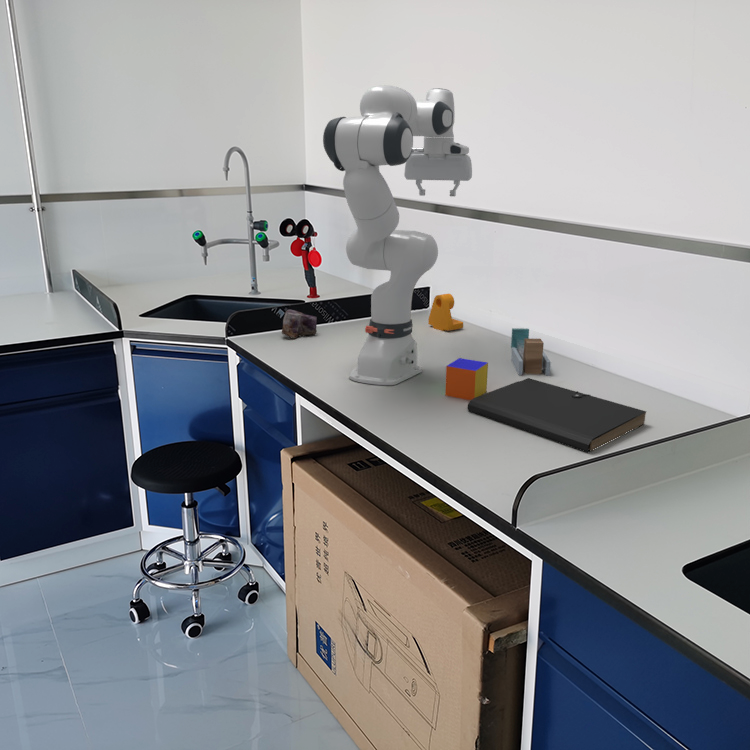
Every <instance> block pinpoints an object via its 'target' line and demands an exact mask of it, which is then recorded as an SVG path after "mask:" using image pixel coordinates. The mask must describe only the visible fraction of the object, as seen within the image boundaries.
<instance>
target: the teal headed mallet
mask: <svg viewBox="0 0 750 750" xmlns="http://www.w3.org/2000/svg"><path fill="white" fill-rule="evenodd" d="M529 334H530V328H524V327H523V328H517V327H516V328H515V327H514V328H513V327H512V328H511V339H510V340H511V341H510V348H511V349H512V347H515V348H516V349H517V351H518V353H519V355H520V357H521V358H522V360H523V353H524V338H527V339H530V337H529V336H530V335H529Z"/></svg>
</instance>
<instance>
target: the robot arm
mask: <svg viewBox="0 0 750 750" xmlns="http://www.w3.org/2000/svg"><path fill="white" fill-rule="evenodd" d="M359 112H360V116H348V117H346V116H340V117H335V118H332V119H331V120H329V121H327V123H326V126H325V128H324V130H323V135H322V136H323V137H322V143H323V148H324V151H325V153H326V155H327V157H328V159H329V160H330V161H331V162H332V163H333V165H334V167H335V168H336V169H337V170H338V171H341V172H345V173H344V176H343V181H342V187H343V191H344V196H345V200H346V203H347V205H348V208H349V210H350V213H351V215H352V217H353V219H354V221H355V224H356V227H357V229H356V230H354V231H353V232H352V233H351V234H350V235H349V237H348V238H347V241H346V245H345V251H346V256H347V259H348V261H350V264H352V265H353V266H357V267H359V268H363V269H367V270H375V271H376V270H377V271H389V272H390V277H389V280H388V281H385V282H383V283H382V284H379V285H378V286H376V287H375V288H374V289H373V291H372V293H371V296H370V299H371V300H370V305H371V307H370V312H371V313H370V315H371V316H370V320H369V323H368V325H367V324H366V326H365V328H364V329H365V330H364V332H365V333H366V334H368V335H367V338H366V340H365V342H364V343H363V345H362V347H361V349H360V352H359V354H358V357H357V365H356V366H355V367H354V369H352V371H351V372H350V374H349V375H348V379H349V380H351V381H355V382H357V383H358V382H359V383H363V384H369V385H378V386H395V385H398V384H399V383H402V382H404V381H405V380H408V379H410V378H412V377H414V376H416V375H418V374H421V373H422V372H423V368H422V367H421V366H420V365H418V346H417V345H418V344H417V342H416V340H415V339H414V337H413V335H412V333H413V319H412V318H411V316H412V301H413V293H414V289H415V287H416V285H417V283H418V281H419V280H420V278H422V276H423V275H424V274H425V273H427V272H428V271H430V270H431V269H433V267H434V265H435V264H436V262H437V259H438V255H439V248H438V244H437V241H436V240H435V237H433V236H432V234H428V233H425V232H422V231H416V230H404V229H403V230H401V229H397V228H398V225H399V222H400V213H399V210H398V207H397V204H396V201H395V199H394V197H393V194H392V191H391V190H390V189H391V188H390V187H389V185H388V183H387V181H386V179H385V178H384V176H383V175H382V173H381V172H380V167H381V166H390V167H393V166H395V167H396V166H401V165H403V164H405V165H404V173H403V175H404V178H405V179H406V180H410V181H414V180H415V185H416V187H417V189H418V190H419V191H418V194H419V196H423V197H424V196H426V188H425V189H424V188H423V187H422V185H421V184H422V183H423V181H453V185H454V186H453V188H452V189H450V190H449V197H456V195H457V194H456V193H457V190H458V188H459V186H460V185H461V182H462V181H463V182H465V181H466V182H468V181H470V180H471V179H472V176H473V165H472V159H471V156H469V155H468V154H469V153H470V148H469V146H466V145H464V144H461V143H459V142H455V138H454V137H455V136H454V130H453V129H454V124H455V100H454V94H453V92H452V91H451V90H449V89H446V88H431V89H429V90H427V92H426V96H425V100H423V99H422V100H421V99H420V100H416V99H415V97H414V95H412V94H411V92H409V91H407V90H406V89H403V88H402V87H399V86H398V87H397V86H393V85H390V84H389V85H386V84H384V85H377V86H373V87H370V88H369V89H367V90H366V91H365V92H364V93H363V95H362V96H361V99H360V104H359ZM414 137H423V147H414Z"/></svg>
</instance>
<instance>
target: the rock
mask: <svg viewBox="0 0 750 750" xmlns="http://www.w3.org/2000/svg"><path fill="white" fill-rule="evenodd" d="M281 329H282V330H281V334H282V335H285V336H287V337H289V338H291V339H296V338H298V337H305V336H313V335H316V334H317V332H318V331H317V316H314V315H309V314H306V313H303V312H300V311H297V310H294V309H287V310H286V311H285V312H284V315H283V319H282V328H281Z"/></svg>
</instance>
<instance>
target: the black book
mask: <svg viewBox="0 0 750 750" xmlns="http://www.w3.org/2000/svg"><path fill="white" fill-rule="evenodd" d="M466 409H467V411H468V412H470V413H473V414H476V415H479V416H482V417H485V418H488V419H491V420H493V421H496V422H498V423H501V422H502V423H501V424H505V425H508V426H510V427H513V428H516V429H519V430H522V431H525V432H528V433H530V434H534V435H537V436H539V437H542V438H545V439H548V440H550V439H551V441H554V442H557V443H559V442H560V444H562V443H563V444H562V445H565V444H566V445H565V446H568V445H569V446H568V447H570V446H572V447H571V448H573V447H574V449H576V448H578V450H579V449H581V450H580V451H582V450H584V451H583V452H585V451H587V452H586V453H588V452H589V450H593V449H595V448H597V447H599V446H601V445H603V444H605V443H607V442H609V441H611V440H613V439H615V438H617V437H619V436H621V435H623V434H625V433H626V432H628V431H630V430H632V429H635V428H637V427H639V426H640V425H642V424H644V425H645V421H646V414H647V411H646V410H643V409H640V408H639V409H638V408H636V407H633V406H629V405H625V404H621V403H617V402H614V401H611V400H607V399H603V398H601V397H597V396H593V395H591V394H586V393H583V392H579V391H576V390H572V389H568V388H565V387H561V386H559V385H554V384H551V383H548V382H544V381H541V380H537V379H535V378H534V379H533V378H529V377H527V378H525V379H522V380H519V381H515V382H513V383H509V384H508V385H505V386H502V387H499V388H496V389H495V390H491V391H489V392H486V393H484V394H483V395H481V396H478V397H476V398H473V399H472V400H469V402H468V403H467V408H466ZM642 426H643V425H642ZM640 427H641V426H640ZM640 427H639V428H640ZM637 429H638V428H637ZM635 430H636V429H635ZM625 435H626V434H625ZM623 436H624V435H623ZM621 437H622V436H621ZM619 438H620V437H619ZM617 439H618V438H617ZM615 440H616V439H615ZM588 449H589V450H588ZM593 451H594V450H593ZM589 453H590V452H589Z"/></svg>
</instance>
